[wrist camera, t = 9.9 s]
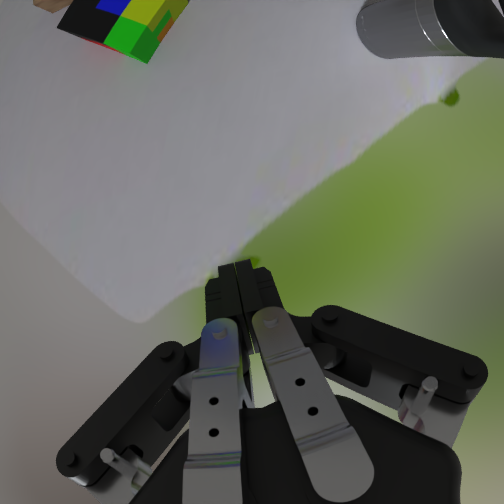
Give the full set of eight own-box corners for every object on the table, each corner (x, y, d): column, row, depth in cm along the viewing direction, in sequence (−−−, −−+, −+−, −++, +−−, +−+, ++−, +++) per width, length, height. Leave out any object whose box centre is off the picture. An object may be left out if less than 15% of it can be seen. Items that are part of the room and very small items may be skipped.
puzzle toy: (126, -19, 24) (107, -46, 15) (188, 3, 28) (184, -24, 19) (87, 40, 27) (56, 27, 19) (147, 64, 31) (129, 53, 22)
